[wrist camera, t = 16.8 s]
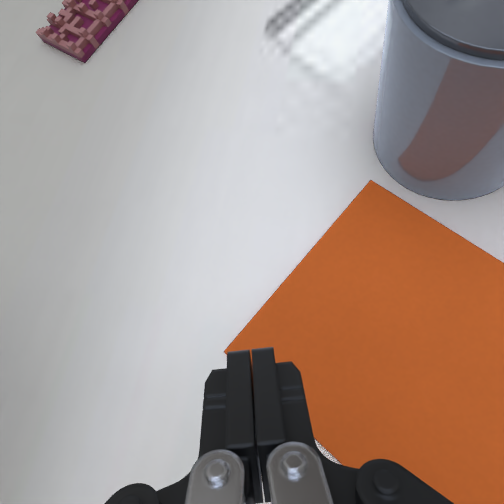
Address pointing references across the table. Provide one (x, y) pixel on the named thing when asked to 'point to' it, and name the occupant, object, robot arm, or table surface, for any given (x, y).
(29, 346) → the table surface
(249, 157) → the table surface
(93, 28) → the red flat knobbed bar
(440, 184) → the crock
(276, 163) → the table surface
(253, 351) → the robot arm
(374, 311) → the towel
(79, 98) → the table surface
